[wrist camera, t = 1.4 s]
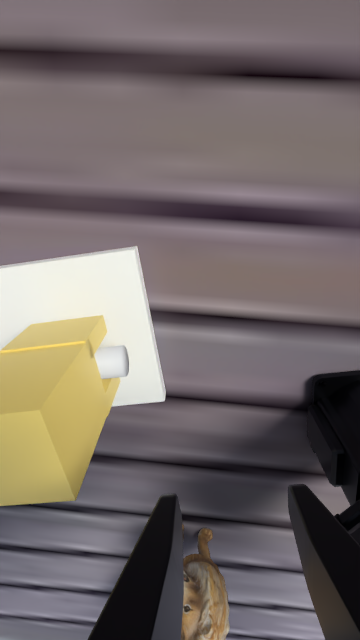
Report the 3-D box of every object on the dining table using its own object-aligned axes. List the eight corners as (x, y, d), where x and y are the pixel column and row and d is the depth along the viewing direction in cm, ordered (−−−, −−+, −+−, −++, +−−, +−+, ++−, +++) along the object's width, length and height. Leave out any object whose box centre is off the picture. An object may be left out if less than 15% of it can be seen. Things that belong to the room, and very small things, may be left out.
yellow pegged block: (103, 315, 16) (38, 407, 9) (120, 381, 18) (76, 502, 11) (31, 324, 17) (-82, 419, 10) (54, 388, 18) (-29, 510, 11)
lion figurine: (176, 486, 25) (169, 635, 17) (235, 506, 26) (256, 658, 17) (117, 582, 30) (90, 730, 22) (167, 596, 31) (159, 745, 23)
